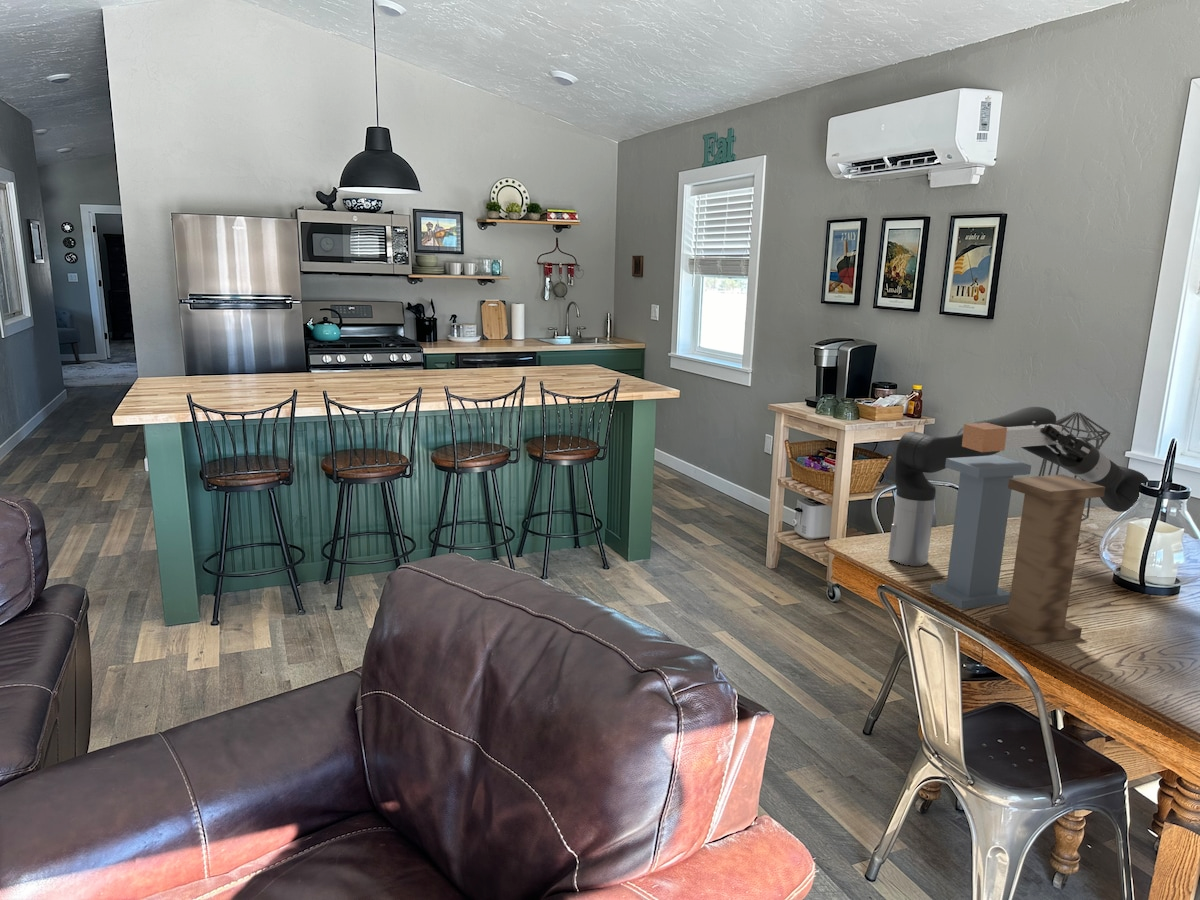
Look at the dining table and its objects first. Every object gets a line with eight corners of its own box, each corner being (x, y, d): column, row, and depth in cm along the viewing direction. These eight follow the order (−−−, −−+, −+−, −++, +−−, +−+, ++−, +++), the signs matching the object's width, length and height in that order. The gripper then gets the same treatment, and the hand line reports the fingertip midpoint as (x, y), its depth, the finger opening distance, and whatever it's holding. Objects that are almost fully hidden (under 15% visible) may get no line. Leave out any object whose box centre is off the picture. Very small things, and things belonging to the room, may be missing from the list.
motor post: (978, 586, 192) (996, 455, 185) (1011, 602, 183) (1031, 465, 176) (930, 592, 188) (946, 458, 181) (961, 609, 179) (979, 469, 172)
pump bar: (1043, 439, 186) (1046, 418, 185) (1065, 445, 180) (1068, 423, 179) (961, 446, 179) (964, 424, 178) (981, 452, 174) (984, 429, 172)
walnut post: (1040, 617, 176) (1062, 474, 169) (1080, 637, 166) (1105, 487, 159) (989, 624, 171) (1009, 478, 164) (1026, 645, 162) (1049, 491, 155)
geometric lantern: (1036, 518, 248) (1056, 405, 240) (1093, 531, 237) (1117, 414, 229) (1017, 528, 237) (1038, 410, 229) (1077, 542, 226) (1101, 419, 218)
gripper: (1102, 482, 181) (1055, 448, 174) (1050, 467, 194) (1005, 434, 187) (1119, 452, 181) (1073, 417, 174) (1066, 439, 194) (1022, 406, 187)
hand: (1038, 426), depth 181 cm, fingers closed on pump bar, 3 cm apart
